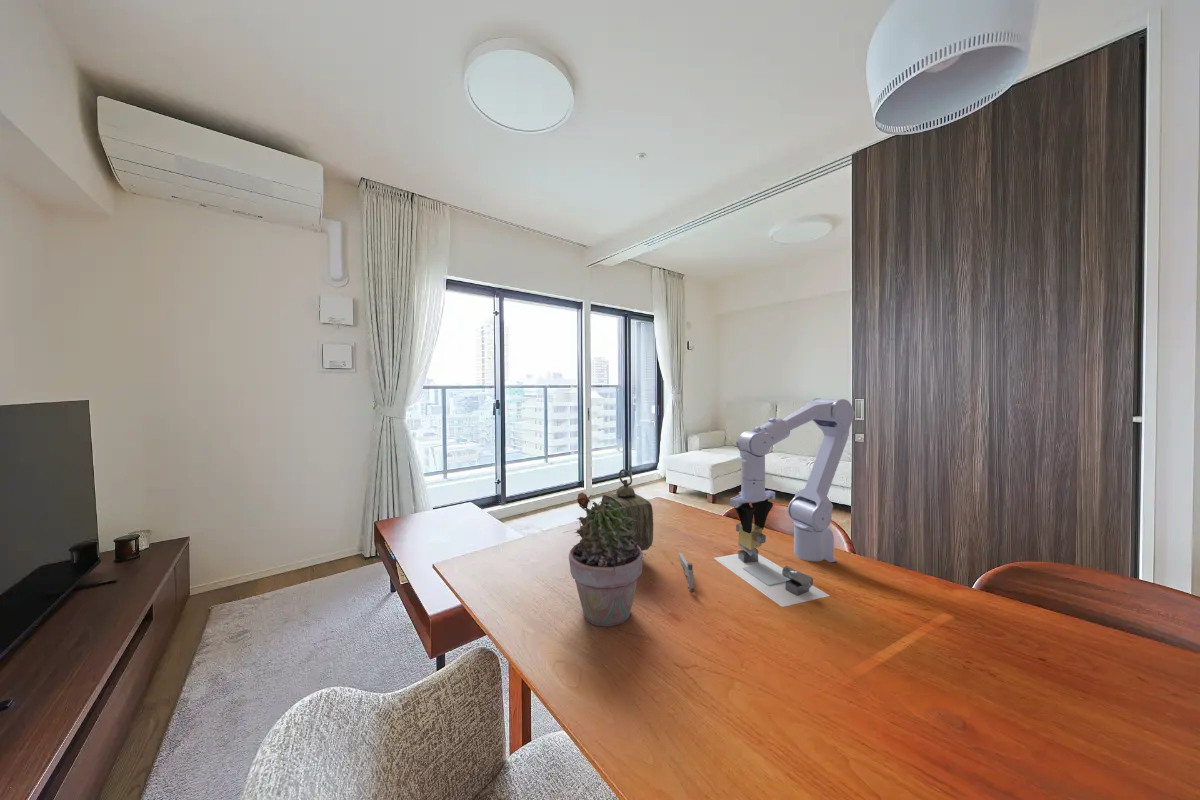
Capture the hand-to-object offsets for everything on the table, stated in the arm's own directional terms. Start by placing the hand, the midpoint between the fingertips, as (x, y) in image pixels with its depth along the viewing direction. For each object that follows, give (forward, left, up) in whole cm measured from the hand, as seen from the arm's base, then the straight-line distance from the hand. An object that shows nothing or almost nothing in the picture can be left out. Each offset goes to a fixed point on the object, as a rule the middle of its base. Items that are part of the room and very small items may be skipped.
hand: (753, 530), depth 103 cm
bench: (+1, +6, -10) cm, 12 cm away
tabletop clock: (+29, -16, -10) cm, 34 cm away
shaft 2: (0, +14, -9) cm, 17 cm away
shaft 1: (0, -2, -9) cm, 9 cm away
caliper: (+18, -4, -10) cm, 21 cm away
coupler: (0, -1, -4) cm, 5 cm away
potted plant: (+42, +7, -10) cm, 43 cm away
